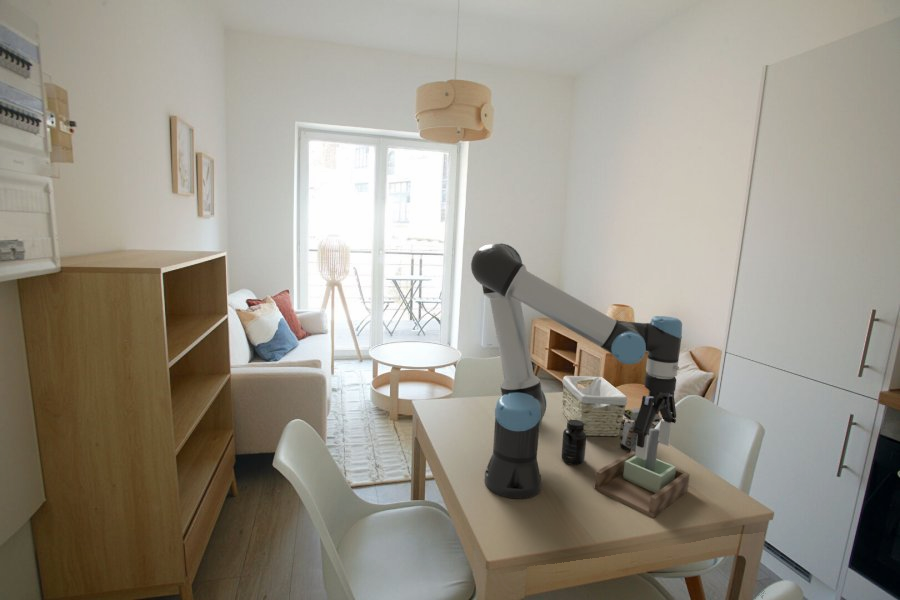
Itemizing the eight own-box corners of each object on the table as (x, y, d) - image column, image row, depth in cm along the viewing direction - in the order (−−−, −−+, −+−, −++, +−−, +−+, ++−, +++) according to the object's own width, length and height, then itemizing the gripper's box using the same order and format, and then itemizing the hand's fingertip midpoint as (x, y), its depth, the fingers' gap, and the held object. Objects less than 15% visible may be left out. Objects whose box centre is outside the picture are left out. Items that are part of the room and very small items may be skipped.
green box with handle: (659, 494, 119) (665, 441, 117) (623, 478, 127) (628, 427, 125) (674, 483, 125) (680, 432, 123) (638, 468, 133) (644, 420, 131)
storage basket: (558, 411, 179) (561, 374, 177) (599, 412, 180) (602, 375, 177) (578, 437, 155) (582, 395, 153) (625, 439, 156) (629, 397, 154)
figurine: (662, 462, 141) (668, 415, 138) (624, 459, 141) (630, 413, 139) (650, 448, 150) (655, 404, 147) (614, 446, 150) (619, 402, 148)
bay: (653, 518, 111) (655, 498, 111) (594, 488, 123) (596, 471, 122) (687, 491, 124) (689, 473, 124) (631, 467, 136) (633, 451, 136)
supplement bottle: (565, 452, 143) (569, 415, 142) (587, 459, 140) (591, 422, 138) (557, 460, 138) (560, 422, 136) (579, 468, 134) (583, 429, 132)
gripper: (653, 387, 111) (644, 469, 114) (694, 371, 127) (685, 443, 130) (624, 379, 117) (616, 458, 119) (667, 364, 133) (659, 434, 136)
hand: (652, 450), depth 125 cm, fingers open, 13 cm apart
